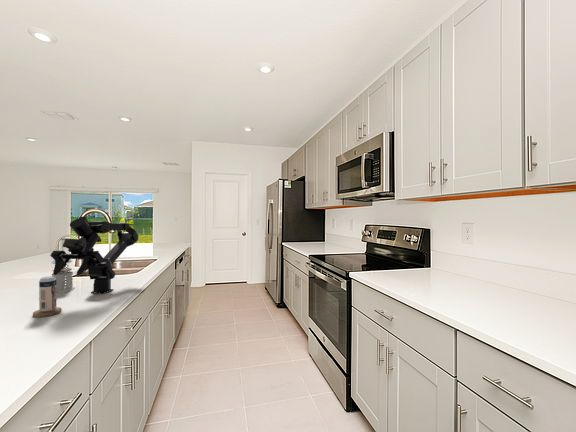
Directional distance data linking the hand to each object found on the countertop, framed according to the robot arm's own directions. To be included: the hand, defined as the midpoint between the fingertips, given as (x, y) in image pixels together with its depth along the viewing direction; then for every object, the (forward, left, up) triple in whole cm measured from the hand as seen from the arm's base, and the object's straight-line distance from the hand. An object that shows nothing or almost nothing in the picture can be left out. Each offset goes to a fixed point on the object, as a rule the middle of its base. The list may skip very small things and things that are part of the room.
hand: (65, 274), depth 111 cm
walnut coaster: (+8, +1, -12) cm, 15 cm away
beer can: (+8, +1, -12) cm, 14 cm away
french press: (-19, -24, -13) cm, 33 cm away
